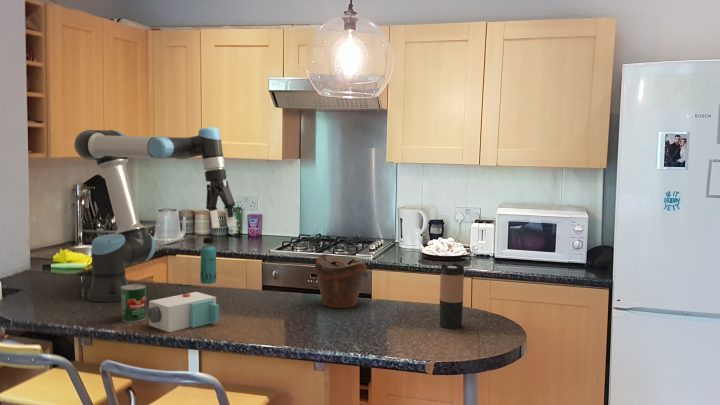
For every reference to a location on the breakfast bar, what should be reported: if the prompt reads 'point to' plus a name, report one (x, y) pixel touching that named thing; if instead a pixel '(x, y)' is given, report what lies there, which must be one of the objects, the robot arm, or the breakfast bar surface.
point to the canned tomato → (133, 303)
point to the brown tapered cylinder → (339, 280)
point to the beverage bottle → (208, 262)
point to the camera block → (174, 311)
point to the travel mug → (451, 295)
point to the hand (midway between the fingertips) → (223, 227)
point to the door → (203, 313)
